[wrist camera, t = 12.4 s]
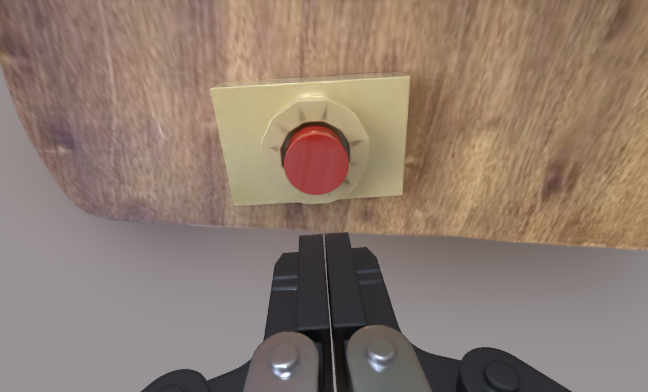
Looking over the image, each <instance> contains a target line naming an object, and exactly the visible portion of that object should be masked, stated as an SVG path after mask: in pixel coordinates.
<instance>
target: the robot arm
mask: <svg viewBox="0 0 648 392" xmlns="http://www.w3.org/2000/svg"><path fill="white" fill-rule="evenodd" d="M325 247H326V262H327V280H328V293H329V305H330V317H331V329H332V339H333V352H334V364H335V375H336V388H337V392H571V391H570V390H568V389H567V388H565V387H563V386H562V385H560V384H558V383H557V382H555V381H554V380H552V379H550V378H549V377H547V376H546V375H544V374H542V373H540V372H539V371H537V370H536V369H534V368H533V367H531V366H529V365H528V364H526V363H525V362H523V361H521V360H520V359H518V358H516V357H515V356H513V355H511V354H509V353H507V352H505V351H502V350H498V349H495V348H489V347H482V348H476V349H473V350H471V351H469V352H467V353H466V354H465V356H464V357H463V359H462V361H461V360H456V359H451V358H447V357H443V356H438V355H434V354H430V353H428V352H425V351H423V350H421V349H419V348H417V347H416V346H414V345H413V344H412V343H411V342H409V340H408V339H407V338H406V337H405V336H404V335H403V334H402V332H401V330H400V328H399V326H398V323H397V320H396V317H395V314H394V311H393V308H392V305H391V301H390V298H389V295H388V292H387V289H386V286H385V283H384V280H383V276H382V273H381V272H380V267H379V264H378V261H377V258H376V257H375V255H374V254H372V252H371V251H370V250H369V249H367V247H363V248H351V244H350V239H349V235H348V232H344V233H330V234H325ZM141 392H334V388H333V370H332V353H331V336H330V322H329V311H328V297H327V285H326V271H325V260H324V247H323V234H317V235H302V236H299V252H292V253H283V254H282V255H281V257H280V258H279V260H278V261H277V262H276V264H275V266H274V273H273V281H272V287H271V295H270V302H269V308H268V315H267V322H266V329H265V336H264V340H263V342H262V343H261V344H260V345H259V347H257V349H256V350H255V352H254V354H253V356H252V358H251V359H250V360H249V361H248V362H247V363H246V364H244V365H242V366H241V367H239V368H237V369H235V370H233V371H231V372H228V373H225V374H223V375H220V376H218V377H216V378H213V379H210V380H207V381H206V379H205V378H204V376H203V375H202V374H200V373H199V372H197V371H194V370H189V369H181V370H176V371H173V372H169V373H167V374H165V375H163V376H161V377H159V378H158V379H156V380H155V381H153V382H152V383H151V384H149V385H148V386H147V387H146V388H145V389H143V390H142V391H141Z"/></svg>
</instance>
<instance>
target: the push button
mask: <svg viewBox="0 0 648 392" xmlns="http://www.w3.org/2000/svg"><path fill="white" fill-rule="evenodd" d="M348 169H349V159H348V155H347V152H346V149H345V147H344V144H343V141H342V140H341V138H340V137H339V135H338V134H337V133H336V132H335V131H333V130H332V129H330V128H328V127H326V126H322V125H310V126H306V127H303V128H301V129H300V130H298V131H297V132H295V133H294V134H293V136H292V137H291V138H290V140H289V142H288V144H287V148H286V153H285V159H284V170H285V174H286V176H287V178H288V180H289V182H290V183H291V184H292V185H293V186H294V187H295V188H296V189H298V190H299V191H301V192H304V193H306V194H311V195H321V194H326V193H329V192H331V191H333V190H335V189H336V188H337V187H339V186H340V185H341V184H342V182H343V181H344V180H345V178H346V176H347V173H348Z"/></svg>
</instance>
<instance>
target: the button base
mask: <svg viewBox="0 0 648 392" xmlns="http://www.w3.org/2000/svg"><path fill="white" fill-rule="evenodd" d="M410 78H411V77H410V76H407V75H404V74H402V73H399V72H383V73H366V74H349V75H332V76H315V77H298V78H280V79H263V80H246V81H229V82H222V83H220V84H218V85H216V86H214V87H212V88H210V92H211V97H212V102H213V107H214V112H215V117H216V122H217V126H218V131H219V136H220V141H221V146H222V151H223V156H224V161H225V166H226V171H227V176H228V180H229V185H230V190H231V195H232V200H233V205H234V207H237V206H252V205H267V204H281V203H296V202H301V203H303V204H306V205H307V204H322V203H332V202H334V201H336V200H341V199H355V198H370V197H385V196H400V195H402V194H403V179H404V165H405V150H406V136H407V121H408V107H409V93H410ZM310 125H322V126H326V127H328V128H330V129H332V130H333V131H335V132H336V133H337V134H338V135H339V137H340V138H341V140H342V141H343V144H344V147H345V149H346V152H347V155H348V159H349V169H348V173H347V176H346V178H345V180H344V181H343V182H342V184H341V185H340V186H339V187H337V188H336V189H335V190H333V191H331V192H329V193H326V194H321V195H311V194H306V193H304V192H301V191H299V190H298V189H296V188H295V187H294V186H293V185H292V184H291V183H290V182H289V180H288V178H287V176H286V174H285V170H284V159H285V153H286V148H287V144H288V142H289V140H290V138H291V137H292V136H293V134H294V133H295V132H297V131H298V130H300V129H301V128H303V127H306V126H310Z"/></svg>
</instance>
